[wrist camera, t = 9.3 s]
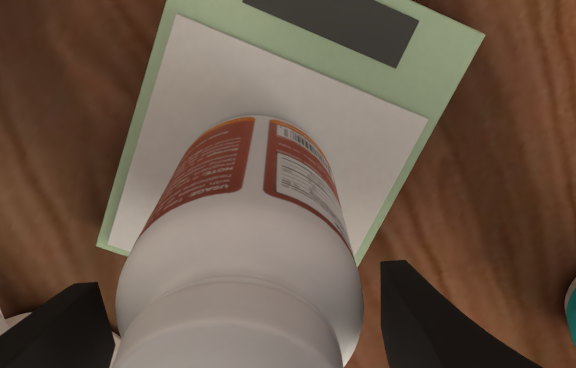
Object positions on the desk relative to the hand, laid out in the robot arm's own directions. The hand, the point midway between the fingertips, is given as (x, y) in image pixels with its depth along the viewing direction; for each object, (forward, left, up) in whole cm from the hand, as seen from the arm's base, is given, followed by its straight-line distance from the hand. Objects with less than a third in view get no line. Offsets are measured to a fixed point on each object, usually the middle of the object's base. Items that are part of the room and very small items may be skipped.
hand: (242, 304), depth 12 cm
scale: (-1, 0, -9) cm, 9 cm away
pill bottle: (0, 0, -8) cm, 8 cm away
